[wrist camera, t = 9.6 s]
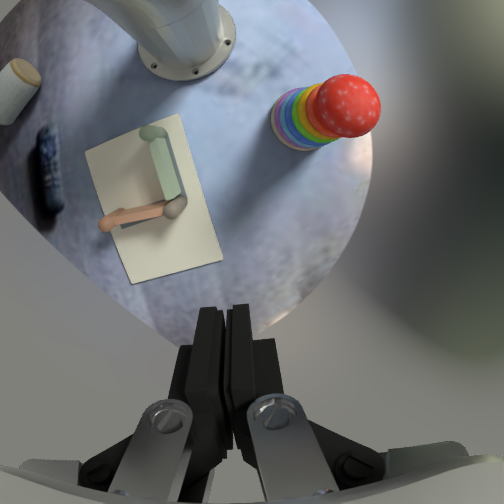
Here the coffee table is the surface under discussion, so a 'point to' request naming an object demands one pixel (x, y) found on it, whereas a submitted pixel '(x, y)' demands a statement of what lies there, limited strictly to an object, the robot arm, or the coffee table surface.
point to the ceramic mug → (16, 88)
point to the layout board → (149, 192)
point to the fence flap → (143, 213)
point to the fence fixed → (161, 159)
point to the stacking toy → (325, 112)
